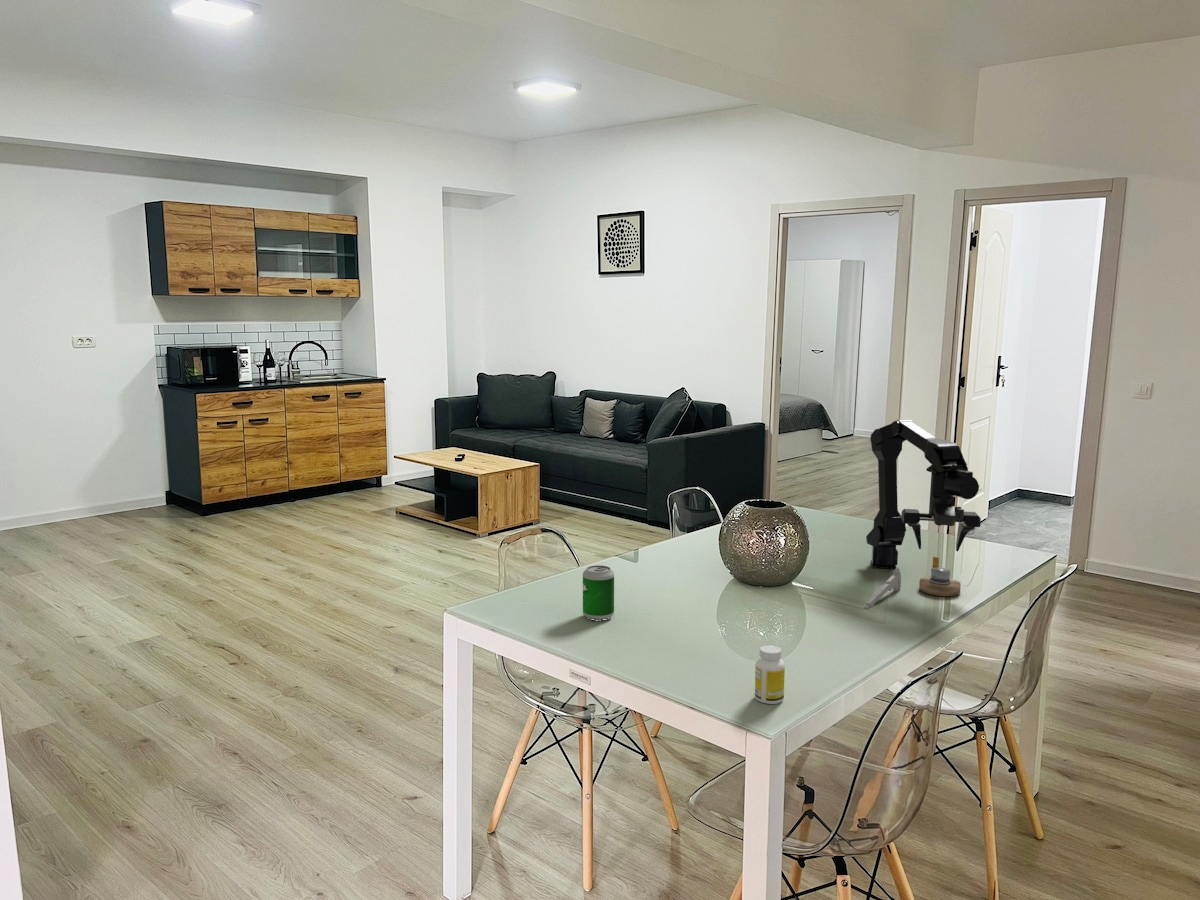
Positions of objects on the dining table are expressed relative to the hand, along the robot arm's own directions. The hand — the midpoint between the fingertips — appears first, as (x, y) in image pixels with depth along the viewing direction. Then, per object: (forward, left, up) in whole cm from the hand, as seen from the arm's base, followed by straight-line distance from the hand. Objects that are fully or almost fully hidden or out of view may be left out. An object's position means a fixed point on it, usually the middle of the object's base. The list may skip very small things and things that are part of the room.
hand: (938, 549), depth 233 cm
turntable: (+1, +1, -10) cm, 10 cm away
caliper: (-14, -10, -11) cm, 21 cm away
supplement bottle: (-41, -77, -11) cm, 88 cm away
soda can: (-82, -39, -11) cm, 92 cm away
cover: (+1, -1, -8) cm, 8 cm away
